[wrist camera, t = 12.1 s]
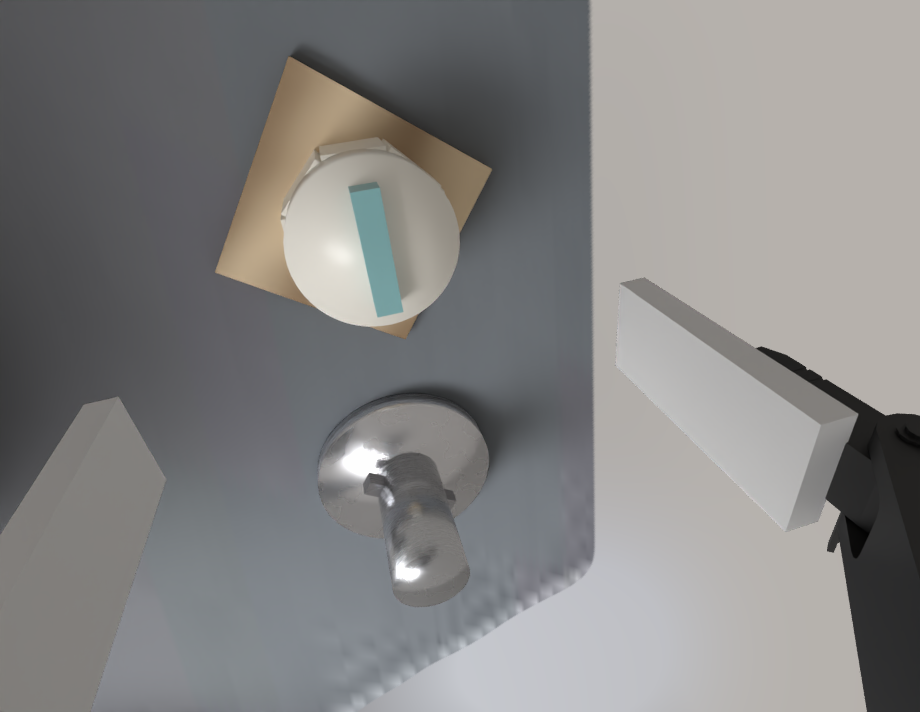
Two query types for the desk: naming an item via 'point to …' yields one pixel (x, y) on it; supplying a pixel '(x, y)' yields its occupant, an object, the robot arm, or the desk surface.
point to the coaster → (305, 129)
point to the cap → (368, 233)
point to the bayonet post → (407, 487)
